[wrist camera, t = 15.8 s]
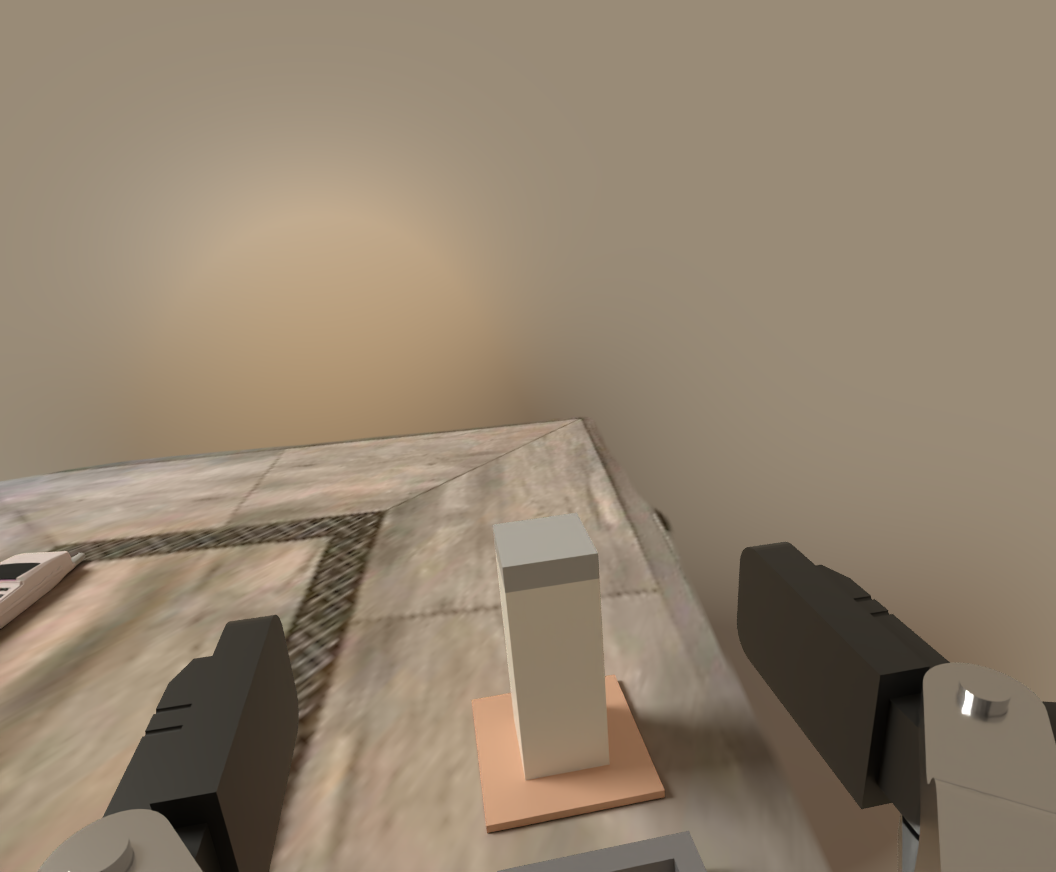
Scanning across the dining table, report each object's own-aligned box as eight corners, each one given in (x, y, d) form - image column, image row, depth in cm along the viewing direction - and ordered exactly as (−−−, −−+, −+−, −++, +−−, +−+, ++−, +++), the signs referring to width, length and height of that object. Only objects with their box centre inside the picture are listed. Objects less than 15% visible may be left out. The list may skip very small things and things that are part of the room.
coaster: (487, 833, 36) (486, 826, 36) (472, 705, 46) (471, 699, 46) (664, 797, 38) (664, 790, 37) (614, 680, 47) (614, 674, 47)
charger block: (525, 780, 39) (502, 567, 34) (514, 719, 44) (492, 524, 39) (609, 764, 39) (598, 553, 35) (589, 705, 44) (576, 512, 40)
